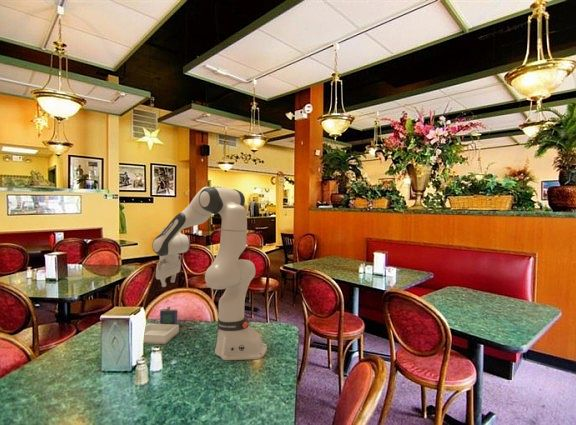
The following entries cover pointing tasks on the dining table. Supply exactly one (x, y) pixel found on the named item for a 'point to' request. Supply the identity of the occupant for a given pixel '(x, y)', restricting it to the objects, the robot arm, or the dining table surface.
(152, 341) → the tub
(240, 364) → the dining table surface
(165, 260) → the robot arm
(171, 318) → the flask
